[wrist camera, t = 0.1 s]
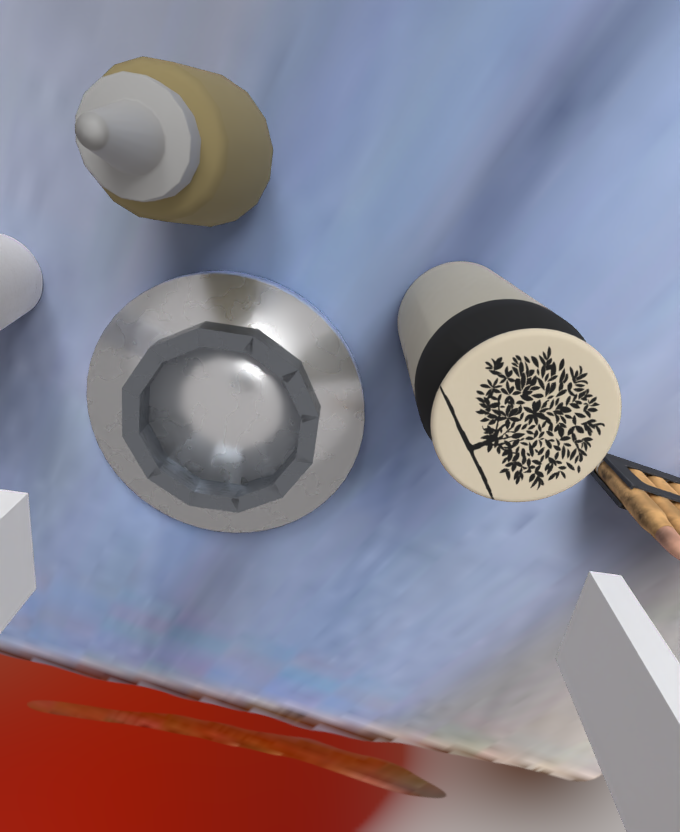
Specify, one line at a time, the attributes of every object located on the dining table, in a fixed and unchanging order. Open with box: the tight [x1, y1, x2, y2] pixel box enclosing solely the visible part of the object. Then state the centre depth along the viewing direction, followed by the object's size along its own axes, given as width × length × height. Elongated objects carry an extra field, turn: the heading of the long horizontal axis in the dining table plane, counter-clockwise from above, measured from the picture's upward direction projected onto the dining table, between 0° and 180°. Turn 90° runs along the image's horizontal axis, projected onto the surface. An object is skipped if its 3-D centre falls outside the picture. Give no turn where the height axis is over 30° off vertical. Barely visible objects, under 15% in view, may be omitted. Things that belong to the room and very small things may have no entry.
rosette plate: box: [87, 271, 365, 533], centre depth 40 cm, size 20×20×4 cm
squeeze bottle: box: [75, 57, 273, 227], centre depth 27 cm, size 8×8×18 cm
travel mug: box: [398, 261, 621, 502], centre depth 31 cm, size 8×8×18 cm
